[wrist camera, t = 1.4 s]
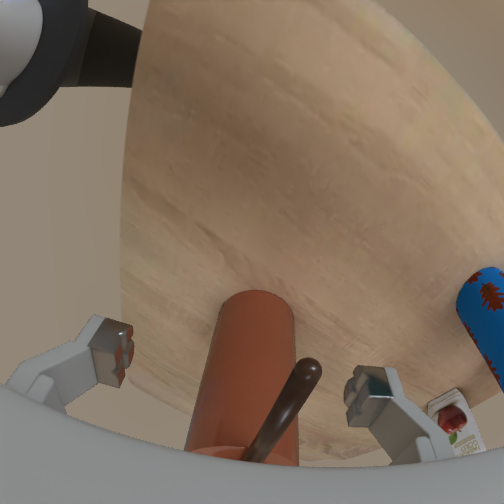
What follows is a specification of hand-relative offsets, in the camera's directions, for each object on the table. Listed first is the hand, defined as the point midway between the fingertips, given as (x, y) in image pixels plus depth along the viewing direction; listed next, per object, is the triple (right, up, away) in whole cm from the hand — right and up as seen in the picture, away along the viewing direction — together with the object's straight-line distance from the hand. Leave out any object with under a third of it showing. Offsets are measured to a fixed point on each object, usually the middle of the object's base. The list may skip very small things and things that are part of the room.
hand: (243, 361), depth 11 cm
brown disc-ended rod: (+1, -11, +11) cm, 15 cm away
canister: (+1, -6, +35) cm, 36 cm away
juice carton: (+40, -27, +43) cm, 65 cm away
